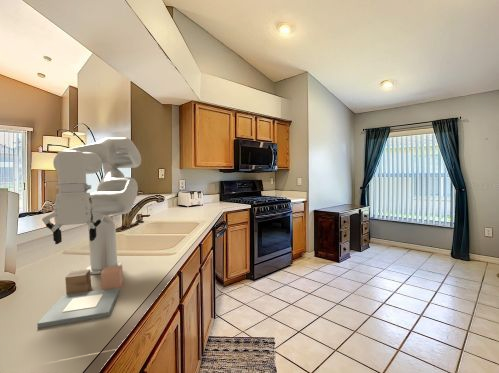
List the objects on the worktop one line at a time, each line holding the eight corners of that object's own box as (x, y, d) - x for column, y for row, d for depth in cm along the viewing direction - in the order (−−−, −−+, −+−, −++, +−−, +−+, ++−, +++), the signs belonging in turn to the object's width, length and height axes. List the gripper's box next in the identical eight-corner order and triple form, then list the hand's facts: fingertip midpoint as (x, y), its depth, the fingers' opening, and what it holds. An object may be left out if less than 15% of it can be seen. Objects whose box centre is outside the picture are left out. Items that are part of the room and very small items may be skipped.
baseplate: (62, 299, 80) (62, 294, 80) (119, 290, 85) (119, 286, 85) (37, 328, 65) (37, 322, 65) (108, 316, 70) (108, 311, 69)
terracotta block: (105, 284, 91) (104, 267, 90) (123, 282, 92) (122, 265, 92) (101, 291, 85) (100, 273, 85) (120, 288, 87) (119, 270, 87)
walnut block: (72, 288, 88) (71, 271, 87) (91, 286, 89) (90, 269, 89) (66, 296, 82) (65, 277, 82) (86, 293, 84) (85, 275, 84)
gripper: (105, 187, 90) (108, 236, 91) (46, 189, 85) (49, 241, 86) (99, 188, 83) (102, 241, 84) (35, 190, 78) (38, 247, 79)
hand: (75, 241), depth 85 cm, fingers open, 9 cm apart
